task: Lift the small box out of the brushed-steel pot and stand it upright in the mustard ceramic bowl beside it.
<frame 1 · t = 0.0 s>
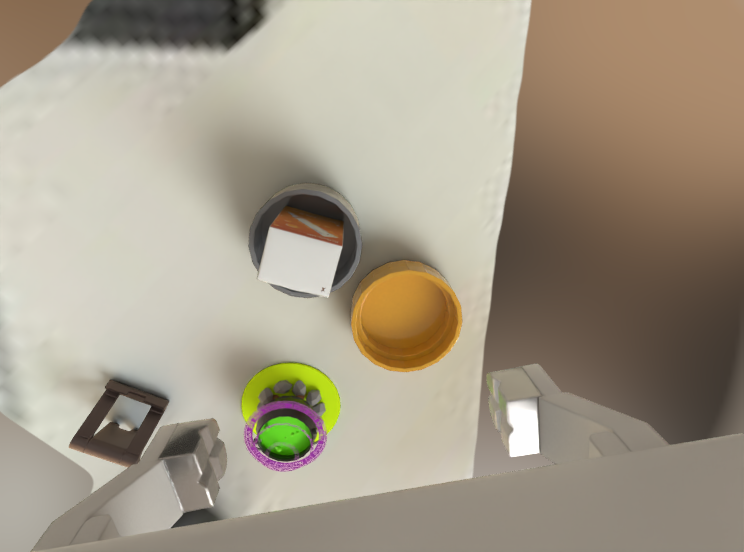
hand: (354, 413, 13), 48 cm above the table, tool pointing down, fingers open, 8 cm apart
pot: (309, 234, 60), on the table
tablet stand: (135, 407, 68), on the table
bowl: (402, 308, 65), on the table
small box: (309, 234, 60), resting on pot
toy cauldron: (291, 404, 69), on the table
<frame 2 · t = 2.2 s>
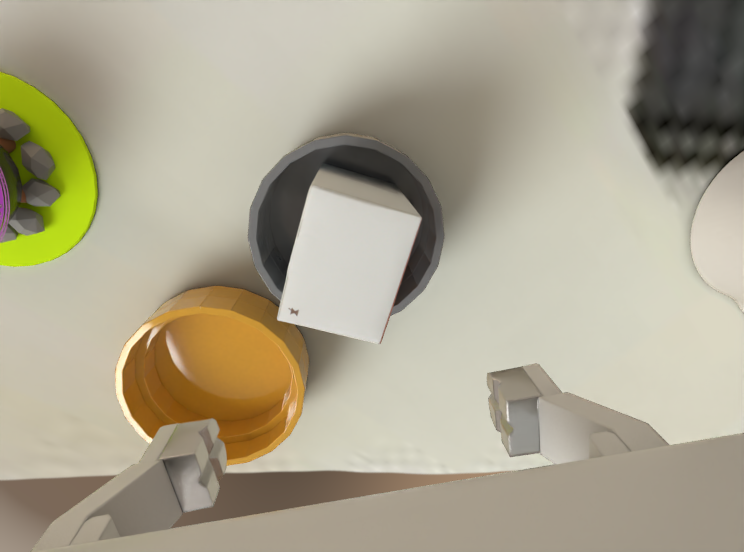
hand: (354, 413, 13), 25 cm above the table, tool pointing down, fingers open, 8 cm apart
pot: (347, 219, 37), on the table
bowl: (226, 360, 41), on the table
small box: (347, 220, 37), resting on pot
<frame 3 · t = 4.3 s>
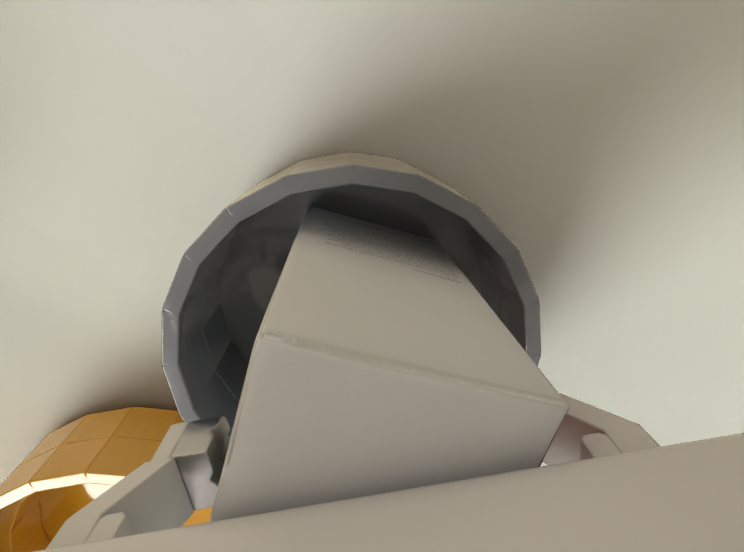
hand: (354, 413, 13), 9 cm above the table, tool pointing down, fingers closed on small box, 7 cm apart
pot: (352, 297, 22), on the table
bowl: (160, 512, 26), on the table
small box: (353, 298, 22), resting on pot, touching gripper
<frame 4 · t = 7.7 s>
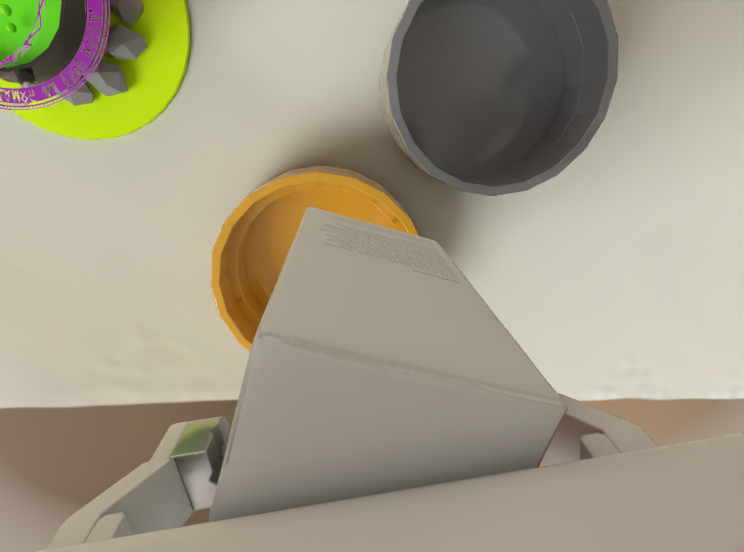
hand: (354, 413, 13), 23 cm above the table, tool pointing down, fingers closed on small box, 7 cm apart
pot: (475, 85, 32), on the table
bowl: (324, 261, 36), on the table
small box: (352, 298, 22), point 14 cm above the table, touching gripper
toy cauldron: (73, 19, 29), on the table
when the fingers open (9 cm above the table, at t = 11.5 s): small box stays where it is, resting on bowl.
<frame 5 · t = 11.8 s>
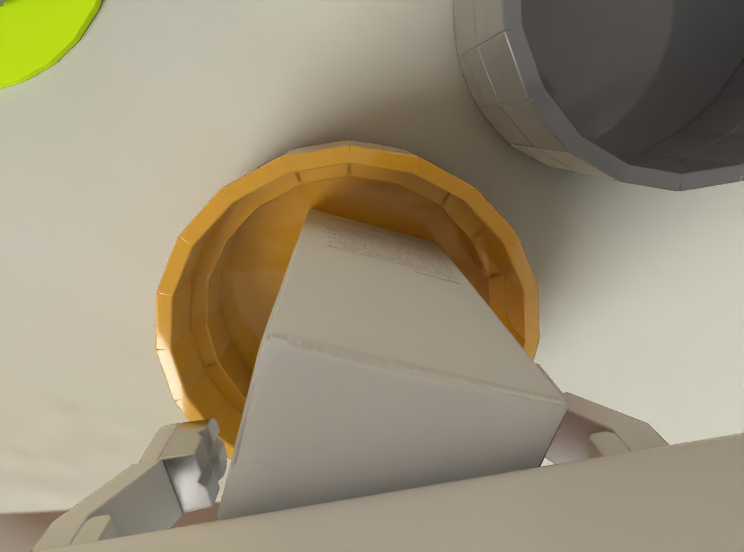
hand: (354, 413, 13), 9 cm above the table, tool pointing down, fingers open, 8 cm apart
pot: (615, 3, 19), on the table
bowl: (350, 297, 22), on the table
small box: (354, 300, 22), resting on bowl
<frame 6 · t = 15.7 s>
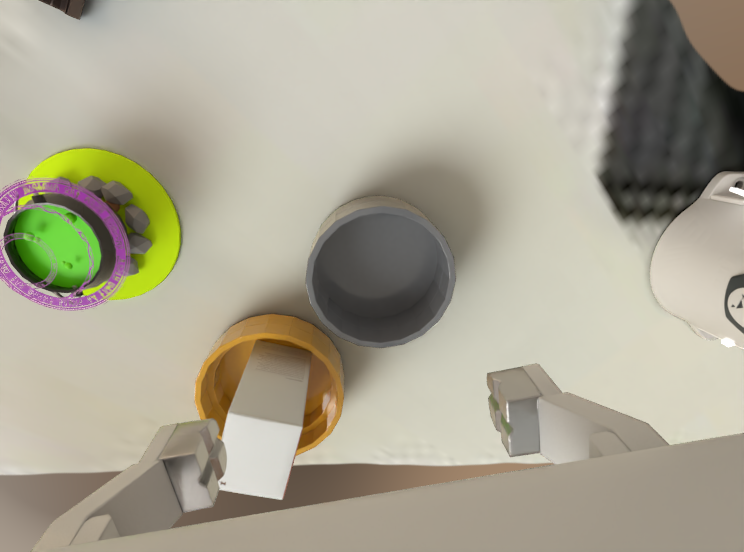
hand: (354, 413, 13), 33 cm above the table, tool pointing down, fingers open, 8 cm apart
pot: (376, 261, 47), on the table
bowl: (276, 373, 50), on the table
small box: (278, 374, 50), resting on bowl
toy cauldron: (102, 227, 44), on the table
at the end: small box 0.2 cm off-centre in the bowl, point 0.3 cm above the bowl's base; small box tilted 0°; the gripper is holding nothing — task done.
